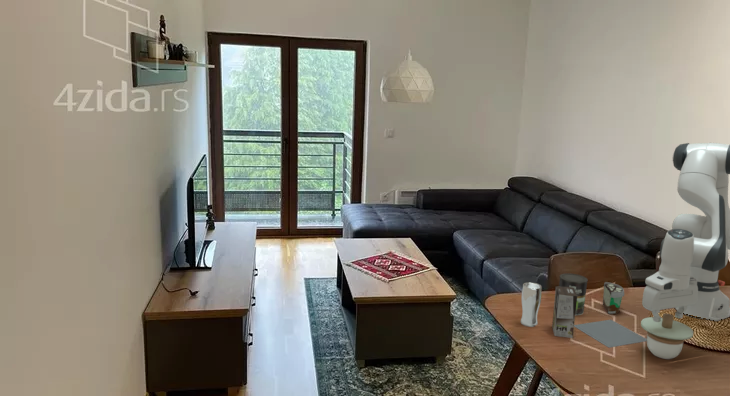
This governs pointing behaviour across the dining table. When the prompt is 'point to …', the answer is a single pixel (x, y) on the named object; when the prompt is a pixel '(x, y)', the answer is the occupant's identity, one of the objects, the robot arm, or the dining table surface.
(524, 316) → the beer glass
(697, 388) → the dining table surface
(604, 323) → the mat
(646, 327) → the lid
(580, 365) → the dining table surface
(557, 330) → the coffee box
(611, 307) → the food container
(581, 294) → the coffee can
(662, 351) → the lidded jar
